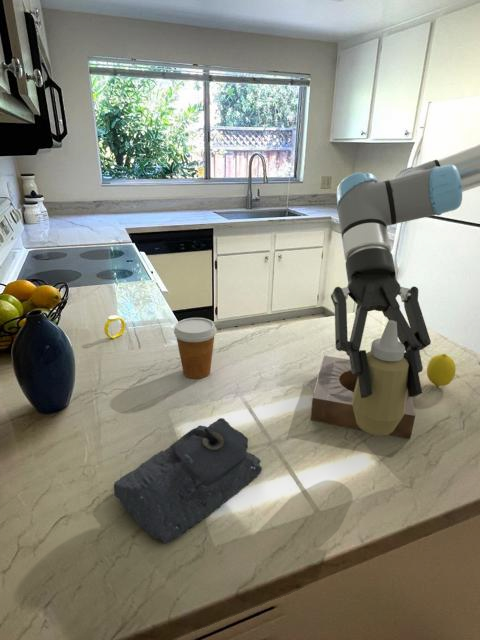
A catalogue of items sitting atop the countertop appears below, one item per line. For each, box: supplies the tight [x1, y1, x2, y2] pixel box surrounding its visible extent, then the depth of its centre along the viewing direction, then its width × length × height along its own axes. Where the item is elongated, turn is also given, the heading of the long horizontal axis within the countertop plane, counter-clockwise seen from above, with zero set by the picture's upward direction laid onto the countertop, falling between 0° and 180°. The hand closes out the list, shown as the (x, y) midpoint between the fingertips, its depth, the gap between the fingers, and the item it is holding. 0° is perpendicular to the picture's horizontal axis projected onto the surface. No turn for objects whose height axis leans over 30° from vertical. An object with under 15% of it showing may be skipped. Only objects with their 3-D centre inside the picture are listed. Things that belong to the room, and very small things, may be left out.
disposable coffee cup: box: [173, 317, 217, 380], centre depth 92 cm, size 10×10×12 cm
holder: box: [310, 355, 416, 440], centre depth 82 cm, size 18×18×5 cm
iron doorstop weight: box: [113, 417, 263, 544], centre depth 62 cm, size 15×22×5 cm
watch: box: [103, 314, 126, 340], centre depth 110 cm, size 6×3×6 cm, turn 144°
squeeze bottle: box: [352, 320, 409, 436], centre depth 61 cm, size 8×8×18 cm
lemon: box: [426, 353, 457, 387], centre depth 88 cm, size 6×6×8 cm
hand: (391, 395), depth 58 cm, fingers closed on squeeze bottle, 6 cm apart
